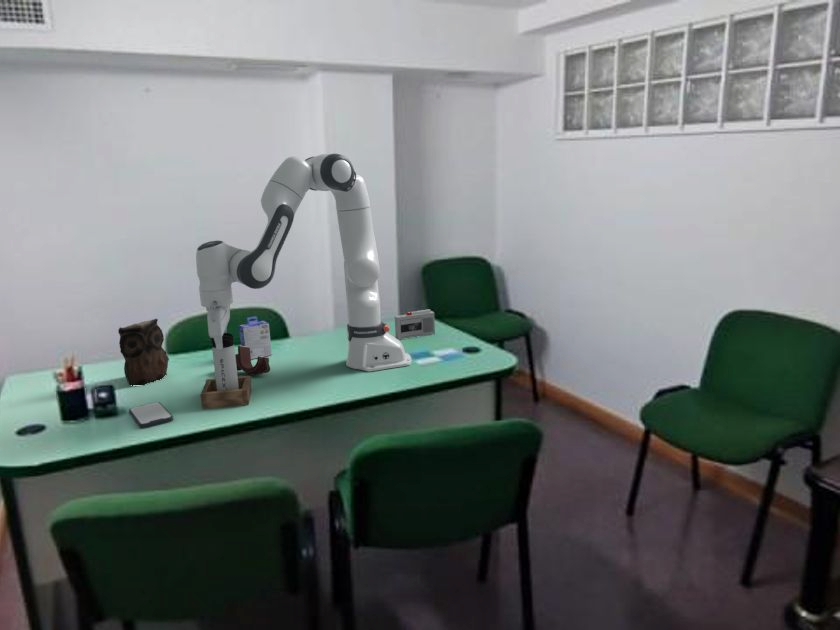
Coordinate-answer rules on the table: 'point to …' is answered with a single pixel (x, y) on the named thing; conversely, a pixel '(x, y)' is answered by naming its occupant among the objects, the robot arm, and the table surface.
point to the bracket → (245, 362)
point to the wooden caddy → (226, 394)
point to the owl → (143, 352)
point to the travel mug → (225, 364)
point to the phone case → (150, 415)
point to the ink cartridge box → (256, 337)
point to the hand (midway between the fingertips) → (221, 344)
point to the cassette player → (415, 324)
